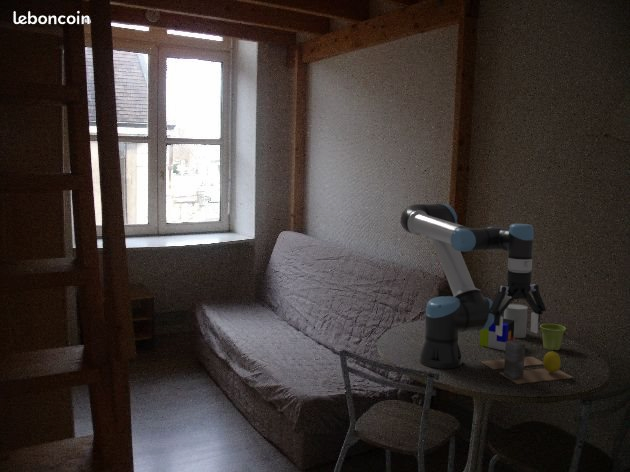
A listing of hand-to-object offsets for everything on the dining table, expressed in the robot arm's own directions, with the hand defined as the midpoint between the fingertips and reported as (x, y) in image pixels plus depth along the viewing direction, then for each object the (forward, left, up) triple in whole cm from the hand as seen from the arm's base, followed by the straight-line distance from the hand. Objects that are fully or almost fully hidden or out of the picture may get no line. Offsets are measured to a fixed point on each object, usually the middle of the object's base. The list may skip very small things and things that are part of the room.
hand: (516, 333), depth 194 cm
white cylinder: (+32, +45, -16) cm, 58 cm away
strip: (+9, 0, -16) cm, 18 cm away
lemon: (+15, 0, -15) cm, 22 cm away
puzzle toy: (+16, +34, -16) cm, 41 cm away
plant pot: (+35, +25, -16) cm, 46 cm away
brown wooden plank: (+9, +13, -16) cm, 22 cm away
